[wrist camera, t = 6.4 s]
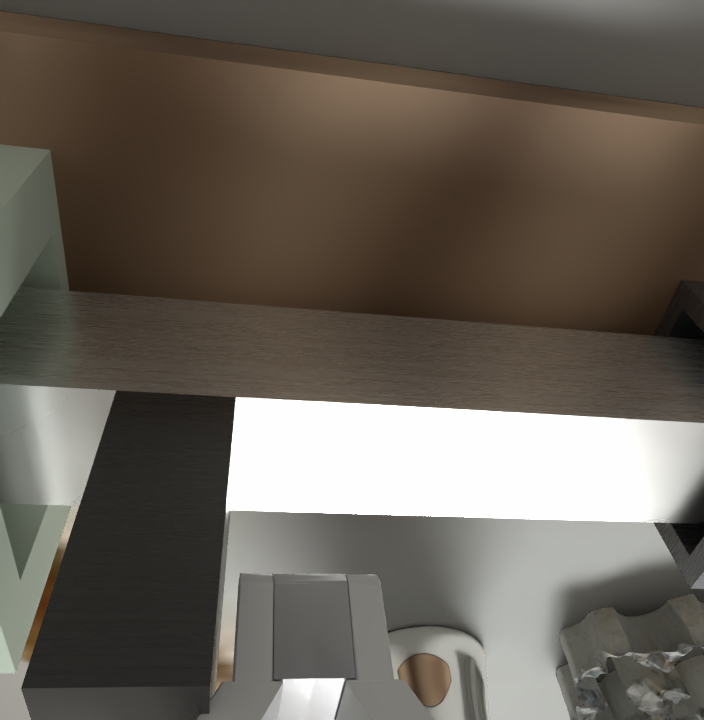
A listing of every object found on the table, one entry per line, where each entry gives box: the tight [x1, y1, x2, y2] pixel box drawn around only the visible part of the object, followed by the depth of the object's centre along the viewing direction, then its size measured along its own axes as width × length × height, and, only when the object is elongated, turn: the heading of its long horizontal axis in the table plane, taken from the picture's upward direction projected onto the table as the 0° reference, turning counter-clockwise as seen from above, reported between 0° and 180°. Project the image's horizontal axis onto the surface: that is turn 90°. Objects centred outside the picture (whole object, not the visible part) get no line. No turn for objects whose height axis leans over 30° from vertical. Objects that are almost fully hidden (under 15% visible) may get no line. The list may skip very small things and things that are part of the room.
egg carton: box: [556, 594, 704, 720], centre depth 28 cm, size 11×8×4 cm
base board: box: [0, 11, 704, 336], centre depth 17 cm, size 29×12×2 cm, turn 82°
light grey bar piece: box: [0, 287, 704, 720], centre depth 12 cm, size 21×3×8 cm, turn 82°
